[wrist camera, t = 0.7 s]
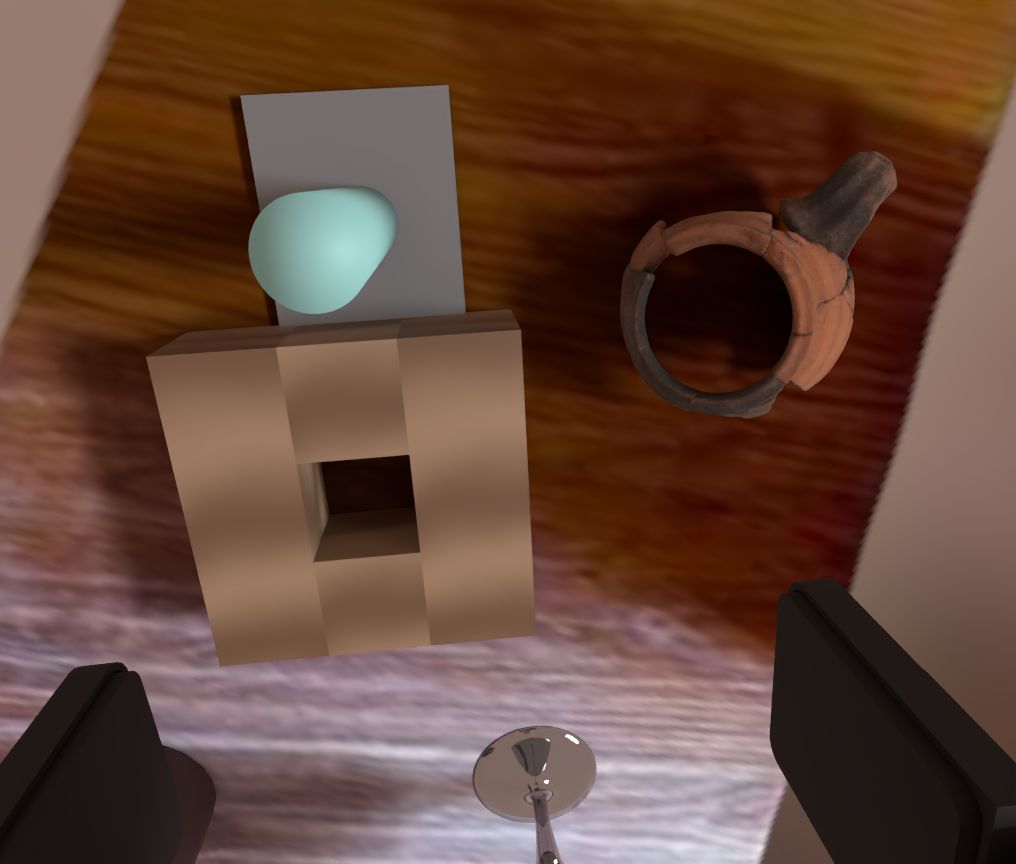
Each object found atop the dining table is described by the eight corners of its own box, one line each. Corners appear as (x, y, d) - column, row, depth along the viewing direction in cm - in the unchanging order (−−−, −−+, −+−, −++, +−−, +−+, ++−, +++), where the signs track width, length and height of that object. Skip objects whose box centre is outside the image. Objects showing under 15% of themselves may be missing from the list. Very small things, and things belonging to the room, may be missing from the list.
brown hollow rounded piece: (766, 423, 35) (740, 483, 28) (614, 311, 36) (554, 341, 29) (958, 208, 29) (988, 215, 22) (767, 85, 30) (737, 55, 23)
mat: (243, 96, 27) (240, 95, 27) (448, 86, 28) (448, 85, 28) (285, 347, 31) (283, 349, 30) (467, 334, 31) (467, 336, 31)
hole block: (187, 331, 30) (145, 357, 26) (510, 308, 31) (521, 329, 27) (247, 607, 35) (220, 666, 31) (525, 581, 36) (535, 635, 32)
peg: (319, 188, 28) (238, 196, 17) (394, 183, 29) (361, 188, 17) (330, 263, 29) (260, 318, 18) (401, 258, 30) (376, 310, 18)
